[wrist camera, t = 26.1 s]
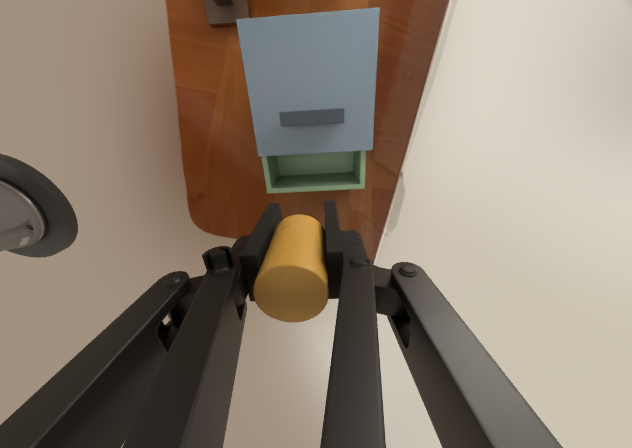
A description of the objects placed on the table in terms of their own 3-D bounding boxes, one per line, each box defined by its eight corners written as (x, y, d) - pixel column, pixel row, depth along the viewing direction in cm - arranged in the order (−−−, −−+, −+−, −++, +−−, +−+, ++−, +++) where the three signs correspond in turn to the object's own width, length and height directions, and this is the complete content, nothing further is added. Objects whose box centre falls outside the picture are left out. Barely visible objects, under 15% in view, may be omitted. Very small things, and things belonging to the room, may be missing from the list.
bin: (276, 179, 44) (267, 193, 36) (264, 93, 38) (250, 88, 30) (356, 175, 44) (364, 188, 36) (358, 87, 37) (368, 80, 29)
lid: (259, 155, 34) (252, 160, 30) (237, 21, 27) (226, 8, 24) (371, 149, 33) (377, 153, 30) (378, 10, 26) (386, -6, 23)
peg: (288, 265, 15) (274, 330, 10) (265, 225, 14) (237, 279, 9) (333, 249, 14) (339, 311, 10) (313, 205, 13) (309, 254, 9)
